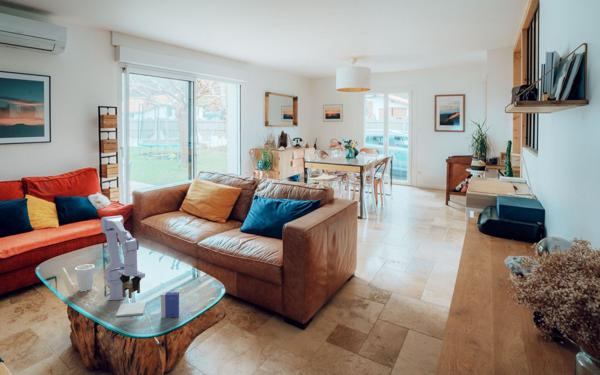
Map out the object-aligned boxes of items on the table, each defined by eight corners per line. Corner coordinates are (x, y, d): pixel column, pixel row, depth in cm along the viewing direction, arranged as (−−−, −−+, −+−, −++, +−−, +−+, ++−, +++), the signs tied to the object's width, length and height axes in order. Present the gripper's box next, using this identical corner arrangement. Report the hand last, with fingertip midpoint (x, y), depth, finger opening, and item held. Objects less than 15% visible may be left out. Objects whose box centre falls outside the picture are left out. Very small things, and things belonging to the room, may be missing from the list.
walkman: (179, 314, 169) (179, 291, 168) (177, 317, 167) (177, 294, 165) (162, 315, 169) (162, 291, 167) (161, 317, 166) (160, 294, 164)
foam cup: (84, 285, 199) (83, 263, 198) (99, 286, 198) (98, 264, 197) (71, 292, 190) (70, 269, 188) (86, 293, 189) (86, 270, 187)
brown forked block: (122, 297, 169) (122, 283, 168) (132, 291, 176) (132, 278, 175) (130, 298, 168) (129, 284, 167) (140, 292, 175) (139, 279, 174)
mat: (121, 305, 177) (121, 304, 177) (146, 303, 180) (146, 301, 180) (115, 316, 165) (115, 315, 165) (142, 314, 169) (142, 312, 169)
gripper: (148, 262, 172) (149, 288, 174) (123, 259, 175) (124, 285, 177) (139, 267, 165) (139, 294, 167) (113, 263, 168) (114, 290, 170)
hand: (131, 289), depth 171 cm, fingers closed on brown forked block, 4 cm apart
